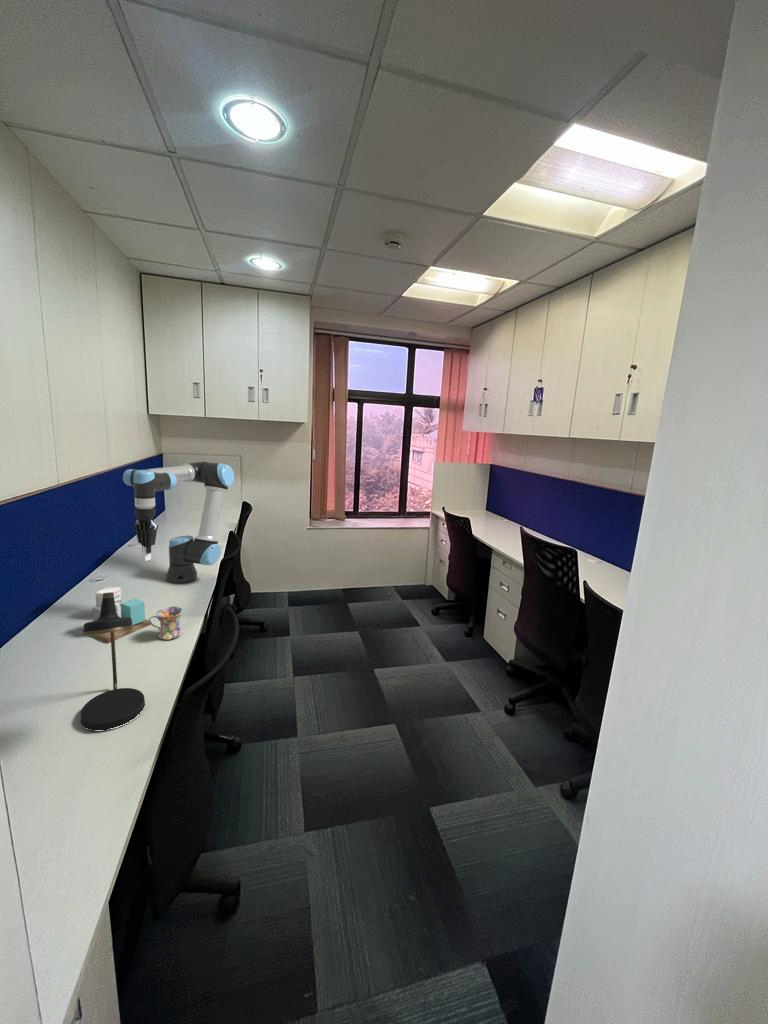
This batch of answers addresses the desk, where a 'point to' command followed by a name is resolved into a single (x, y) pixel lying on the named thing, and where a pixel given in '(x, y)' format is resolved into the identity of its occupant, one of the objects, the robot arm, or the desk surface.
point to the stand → (118, 634)
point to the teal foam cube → (133, 610)
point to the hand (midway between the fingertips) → (147, 559)
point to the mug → (169, 622)
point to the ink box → (116, 596)
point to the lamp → (117, 702)
